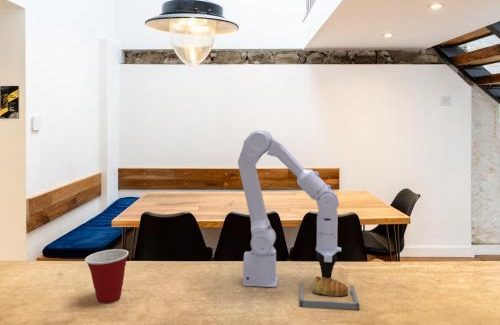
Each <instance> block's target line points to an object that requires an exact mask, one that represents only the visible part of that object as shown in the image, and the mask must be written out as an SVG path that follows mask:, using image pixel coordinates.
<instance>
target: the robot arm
mask: <svg viewBox="0 0 500 325" xmlns="http://www.w3.org/2000/svg"><path fill="white" fill-rule="evenodd" d="M264 154H266V155H268V156H271V157H275V158H278V160H279V161H280V162H281V163H283V164H284V166H286V168H288V170H290V171H291V173H293V175H295V176H296V183H297V185H298V186H299V187H300V189H302V191H303V192H305V193H306V195H307V196H309V198H311V199H312V200H314V201H316V206H317V208H318V211H317V213H318V214H317V216H316V246H315V251H316V252H317V253H316V259H317V261H318V263H319V266H320V272H321V278H322V277H326V278H331V279H332V273H333V270H334V267H335V264H336V262H337V260H338V255H337V253H338V252H342V247H339V246H338V225H339V221H338V208H339V206H340V202H339V198H338V195H337V194H336V192H335V191H334V189H332V188H331V185H330V184H327V183H325V181H323V179H322V178H321V177H320V176H319V175H320V173H319V172H318V171H316V170H315V171H314V170H313V169H306V168H305V167H304V166H303V165H302V164H301V163H300V162H299V161H298V159H296V157H295V156H294V155H293V154H292V153H291V152H290V151H289V150H288V149H287V148H286V147H285V145H284V144H282V142H280V141H279V140H278V139H277V138H275V137H273V136H272V134H271V133H270V132H268V131H266V130H253V131H252V132H250V133H249V135H248V136H246V139H245V140H244V141H243V146H242V148H241V152H240V154H239V157H238V159H237V166H238V169H239V174H240V178H241V183H242V188H243V192H244V196H245V201H246V206H247V210H248V213H249V219H250V233H251V240H250V248H251V250H250V251H245V252H244V254H243V264H242V265H243V268H242V269H243V271H242V272H243V273H242V276H243V279H242V280H243V281H242V282H243V283H242V285H243V286H247V287H266V288H277V285H278V280H279V277H278V275H277V250H276V248H275V247H274V244H275V243H276V240H277V233H276V232H275V229H273V228H272V226H271V222H270V220H269V218H268V213H267V211H266V210H267V209H266V205H265V201H264V196H263V193H262V188H261V184H260V178H259V175H258V170H257V163H258V162H259V160H260V159H261V158H262V156H263V155H264Z"/></svg>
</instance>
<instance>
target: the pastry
mask: <svg viewBox="0 0 500 325" xmlns="http://www.w3.org/2000/svg"><path fill="white" fill-rule="evenodd" d="M311 289H312V291H313V293H315V294H318V295H321V294H322V295H323V296H327V297H328V296H330V297H341V296H346V295H348V292H349V286H347V285H346V284H344V283H343V282H340V281H338V280H336V279H332V277H331V278H326V277H322V276H321V277H320V276H315V277H314V281H313V282H312V288H311Z"/></svg>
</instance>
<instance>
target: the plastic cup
mask: <svg viewBox="0 0 500 325" xmlns="http://www.w3.org/2000/svg"><path fill="white" fill-rule="evenodd" d="M128 256H129V251H128V250H126V249H122V248H118V249H117V248H113V249H106V250H101V251H98V252H97V251H96V252H94V253H91V254H89V255H88V256H86V257H85V258H84V261H85V263H86V264H87V266H88V268H89V271H90V274H91V280H92V285H93V288H94V291H95V297H96V299H97V302H98V303H100V304H110V303H115V302H117V301H119V300H120V299H121V296H122V291H123V284H124V279H125V271H126V265H127V261H128V260H127V258H128Z"/></svg>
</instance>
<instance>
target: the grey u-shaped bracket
mask: <svg viewBox="0 0 500 325" xmlns="http://www.w3.org/2000/svg"><path fill="white" fill-rule="evenodd" d="M349 291H350V294H351V297H352V302H349V301H329V300H316V299H315V300H314V299H312V300H311V299H310V300H309V299H304V282H299V307H300V308H315V309H317V308H318V309H329V310H330V309H333V310H346V311H347V310H350V311H351V310H352V311H360V302H359V299H358V295H357V292H356V288H355V286H354V285H353V284H352V285H350V290H349Z"/></svg>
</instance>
